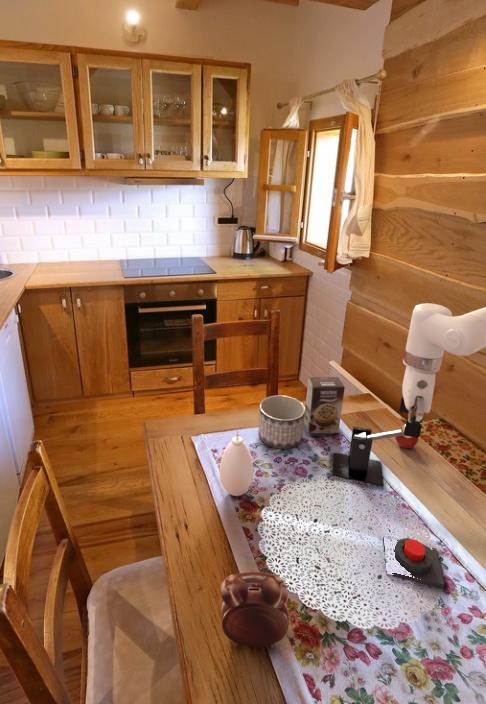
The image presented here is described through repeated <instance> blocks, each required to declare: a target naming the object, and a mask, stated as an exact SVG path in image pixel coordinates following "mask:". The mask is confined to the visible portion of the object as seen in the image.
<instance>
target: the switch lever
mask: <svg viewBox="0 0 486 704" xmlns="http://www.w3.org/2000/svg"><path fill="white" fill-rule="evenodd" d="M401 426H402V427H401ZM401 426H400V427H401V429H400V430H397V429H394V430H389V431H384V432H378V433H373V434H371V435H367V434H366V432H362V433H357V434H354V436H359V437H364V438H370V439H372V442H373V441H377V440H384V439H388V438H395V436H401V435H403V436H404V437H406V438H412V437H410V436H405V435H404V429H405V424H403V425H401Z"/></svg>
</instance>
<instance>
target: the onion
mask: <svg viewBox="0 0 486 704" xmlns="http://www.w3.org/2000/svg"><path fill="white" fill-rule="evenodd" d="M402 426H403V425H401V426H399V427H398V428H397V429H396V430H400V429H401V427H402ZM394 439H395V440H396V443H397V444H398V445H399V446H400V447H401V448H403V449H412V448H414V447H415V446H416V445H417V444H418V442H419V438H416V437H412V438H406V437H404V436H403V435H401V436H395V437H394Z"/></svg>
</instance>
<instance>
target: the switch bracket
mask: <svg viewBox="0 0 486 704" xmlns="http://www.w3.org/2000/svg"><path fill="white" fill-rule="evenodd" d="M362 432H366V434H367V435H372V432H373V431H372V429H371V428H366V427H360V426H352V432H351V439H350V445H349V452H348V454H344V453H338V452H333V457H332V474H331V476H332V477H336V478H341V479H345V480H350V481H355V482H356V481H357V482H360V483H364V484H370V485H375V486H379V487H384V479H383V470H382V462H381V460H376V459H371V458H370V457H371V452H372V446H373V441H372V439H370V438H364V437H359V436H354V434H357V433H362Z"/></svg>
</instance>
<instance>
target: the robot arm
mask: <svg viewBox="0 0 486 704" xmlns="http://www.w3.org/2000/svg"><path fill="white" fill-rule="evenodd" d="M485 348H486V306H485V307H482V308H479V309H476V310H472V311H470V312H467V313H465V314H461V315H457V316H453V313H452V311H451V310H450V309H449V308H448V307H446V306H443V305H441V304H438V303H419V304H417V305H415V307H414V308H413V310H412V315H411V319H410V324H409V329H408V334H407V339H406V345H405V348H404V354H403V359H402V363H403V365H404V366H405V371H404V376H403V381H402V386H401V387H402V388H401V392H402V394H401V395H402V396H401V397H400V402H399V407H398V411H399V413H405V414H408V416H407V419H406V421H405V424H404V425H405V429H404V435H405V436H410V437H416V438H418V439H419V438H420V435H421V430H422V427H423V423H424V422H423V421H424V415H425V413H426V414H429V413H430V412H431V408H432V403H433V397H434V391H435V383H436V373H437V372H439V371H440V370H441V366H442V362H443V358H444V353H445V351H446V352H447V353H449V354H451V355H454V356H457V357H467V356H471V355H473V354H475V353H477V352H480V351H481V350H483V349H485ZM414 414H415V415H414Z"/></svg>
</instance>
